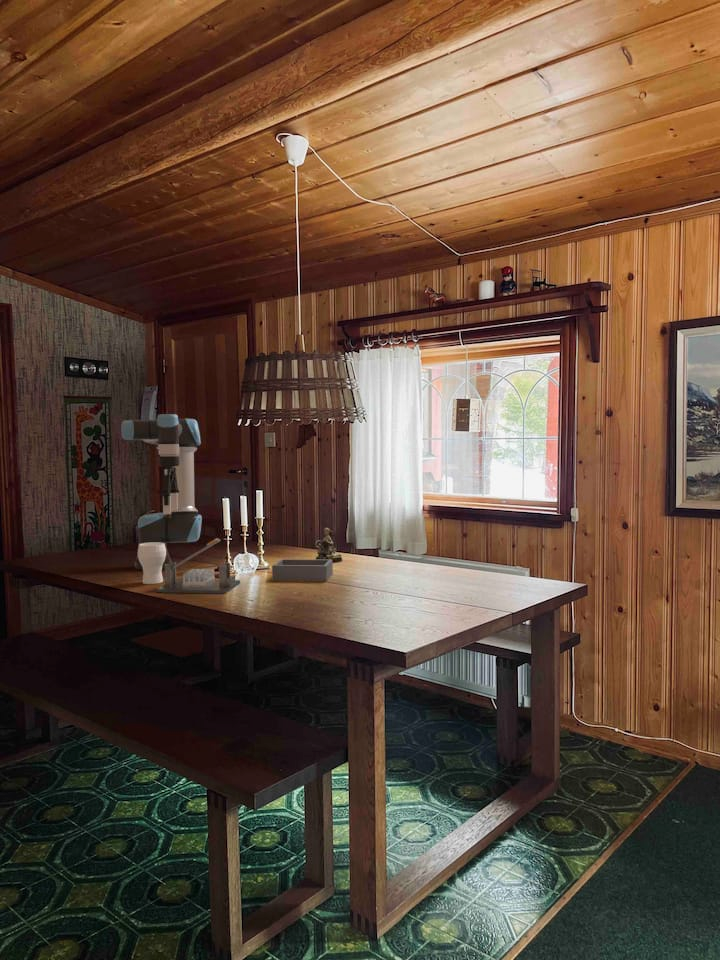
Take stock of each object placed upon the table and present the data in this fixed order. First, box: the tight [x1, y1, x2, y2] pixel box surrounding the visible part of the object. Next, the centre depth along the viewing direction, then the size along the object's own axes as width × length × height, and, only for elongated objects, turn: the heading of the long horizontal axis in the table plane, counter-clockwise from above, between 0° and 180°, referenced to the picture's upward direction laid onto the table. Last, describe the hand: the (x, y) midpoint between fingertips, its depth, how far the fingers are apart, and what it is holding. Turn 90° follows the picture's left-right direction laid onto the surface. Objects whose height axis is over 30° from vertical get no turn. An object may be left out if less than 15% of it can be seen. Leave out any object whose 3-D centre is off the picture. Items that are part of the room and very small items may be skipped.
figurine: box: [314, 527, 343, 564], centre depth 325 cm, size 12×11×15 cm
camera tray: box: [271, 558, 334, 582], centre depth 289 cm, size 14×21×6 cm
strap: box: [171, 537, 221, 571], centre depth 271 cm, size 23×3×2 cm, turn 83°
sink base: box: [155, 561, 241, 595], centre depth 272 cm, size 26×18×9 cm
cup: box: [137, 542, 166, 585], centre depth 283 cm, size 11×11×15 cm
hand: (170, 512), depth 274 cm, fingers open, 13 cm apart
